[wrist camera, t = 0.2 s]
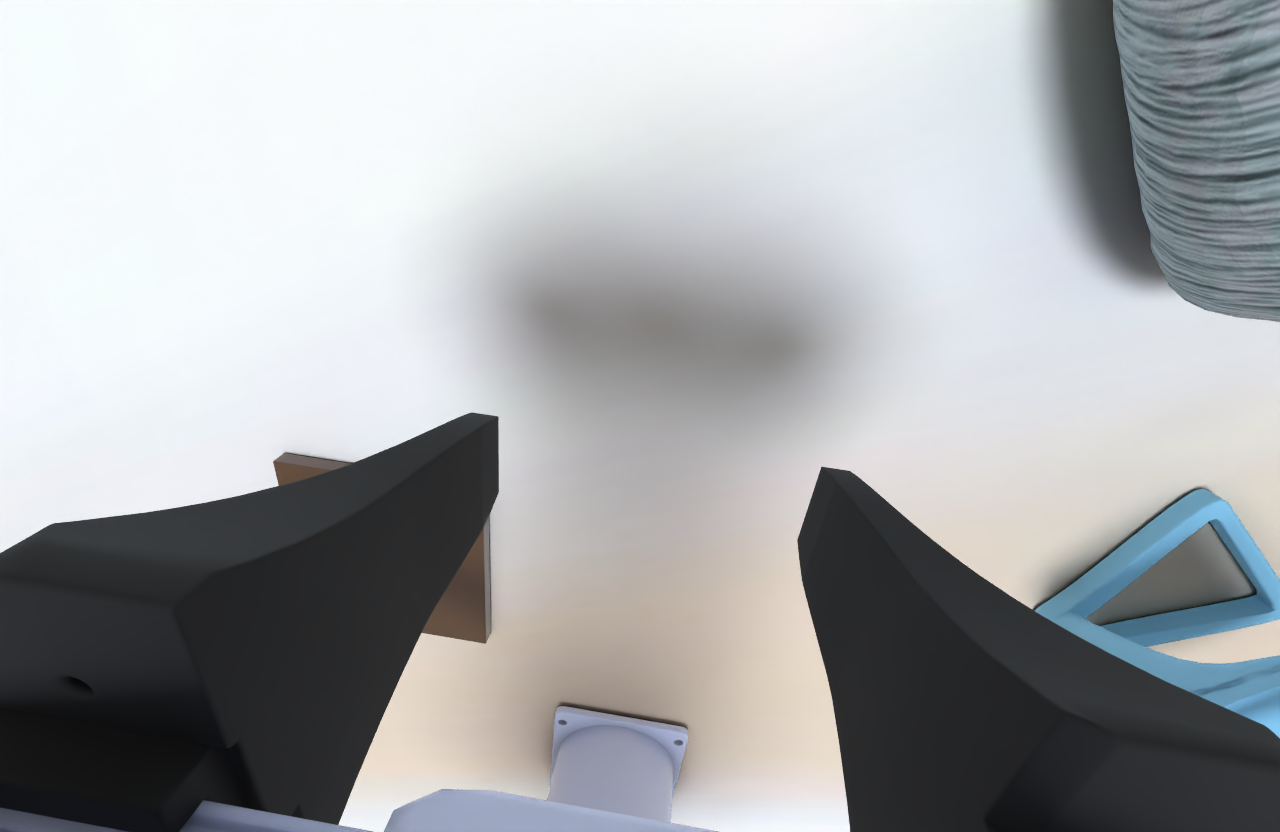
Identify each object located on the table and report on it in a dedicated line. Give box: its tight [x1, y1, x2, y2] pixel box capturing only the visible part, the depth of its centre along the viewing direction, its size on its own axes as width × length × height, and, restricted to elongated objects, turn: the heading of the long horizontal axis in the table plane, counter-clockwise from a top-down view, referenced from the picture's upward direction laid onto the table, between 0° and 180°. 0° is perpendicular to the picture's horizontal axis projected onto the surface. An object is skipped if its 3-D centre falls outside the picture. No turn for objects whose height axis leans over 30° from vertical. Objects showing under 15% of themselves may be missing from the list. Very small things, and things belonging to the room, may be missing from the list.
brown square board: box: [273, 453, 491, 643], centre depth 25 cm, size 10×10×5 cm
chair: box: [1035, 489, 1280, 738], centre depth 18 cm, size 8×8×12 cm
